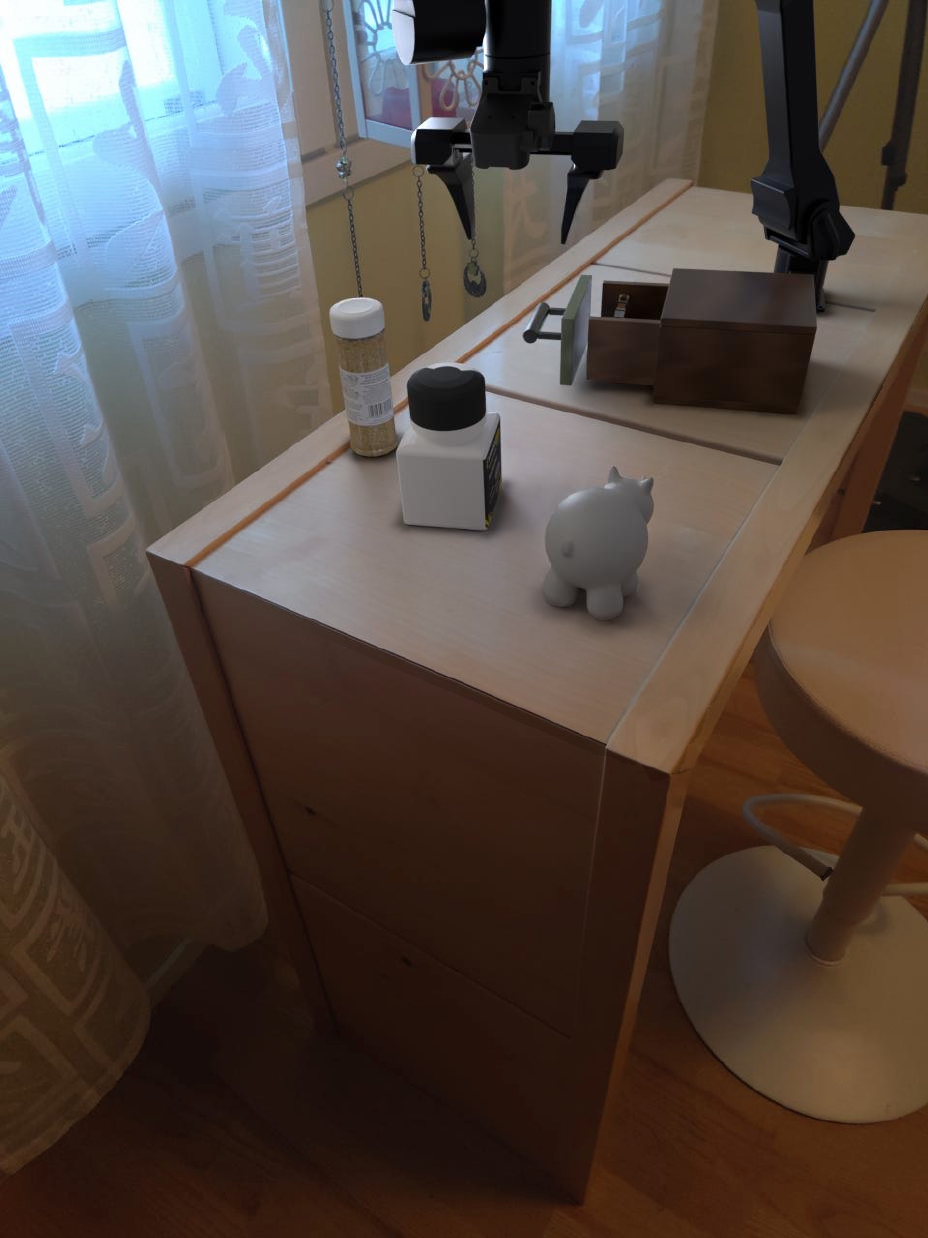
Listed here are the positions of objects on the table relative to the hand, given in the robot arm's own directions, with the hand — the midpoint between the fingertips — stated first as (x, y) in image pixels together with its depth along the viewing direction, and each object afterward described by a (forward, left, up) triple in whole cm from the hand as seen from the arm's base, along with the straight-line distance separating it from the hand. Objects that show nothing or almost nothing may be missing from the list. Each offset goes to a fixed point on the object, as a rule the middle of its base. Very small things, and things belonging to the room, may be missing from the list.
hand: (516, 240), depth 86 cm
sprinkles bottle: (+19, -10, -13) cm, 25 cm away
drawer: (0, +10, -12) cm, 15 cm away
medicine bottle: (+27, 0, -13) cm, 30 cm away
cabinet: (0, +22, -13) cm, 25 cm away
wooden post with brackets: (+1, +10, -10) cm, 14 cm away
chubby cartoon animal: (+34, +14, -13) cm, 39 cm away
